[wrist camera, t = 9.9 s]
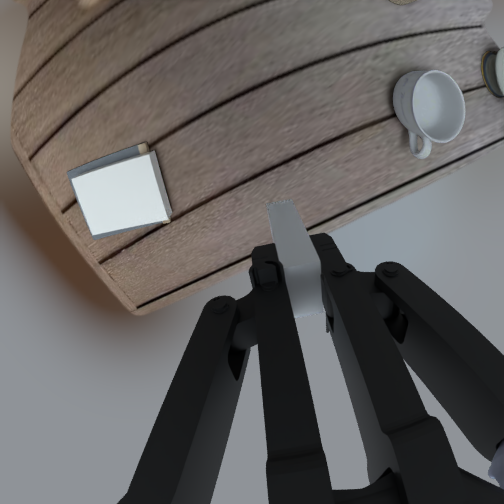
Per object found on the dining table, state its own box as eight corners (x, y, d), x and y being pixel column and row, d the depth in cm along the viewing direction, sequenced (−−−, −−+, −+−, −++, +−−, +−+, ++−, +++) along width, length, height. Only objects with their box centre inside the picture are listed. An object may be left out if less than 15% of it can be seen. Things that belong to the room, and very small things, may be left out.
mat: (145, 142, 38) (145, 142, 38) (170, 219, 45) (169, 220, 45) (67, 171, 39) (66, 172, 39) (94, 239, 46) (93, 240, 46)
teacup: (400, 57, 32) (429, 54, 25) (445, 95, 35) (476, 101, 28) (365, 127, 39) (390, 136, 32) (414, 160, 41) (441, 175, 34)
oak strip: (146, 141, 38) (144, 142, 37) (171, 219, 45) (170, 222, 44) (139, 144, 38) (137, 145, 38) (164, 221, 45) (163, 223, 44)
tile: (149, 154, 36) (71, 179, 37) (168, 219, 41) (92, 235, 42) (154, 150, 38) (79, 174, 39) (172, 212, 43) (99, 227, 44)
